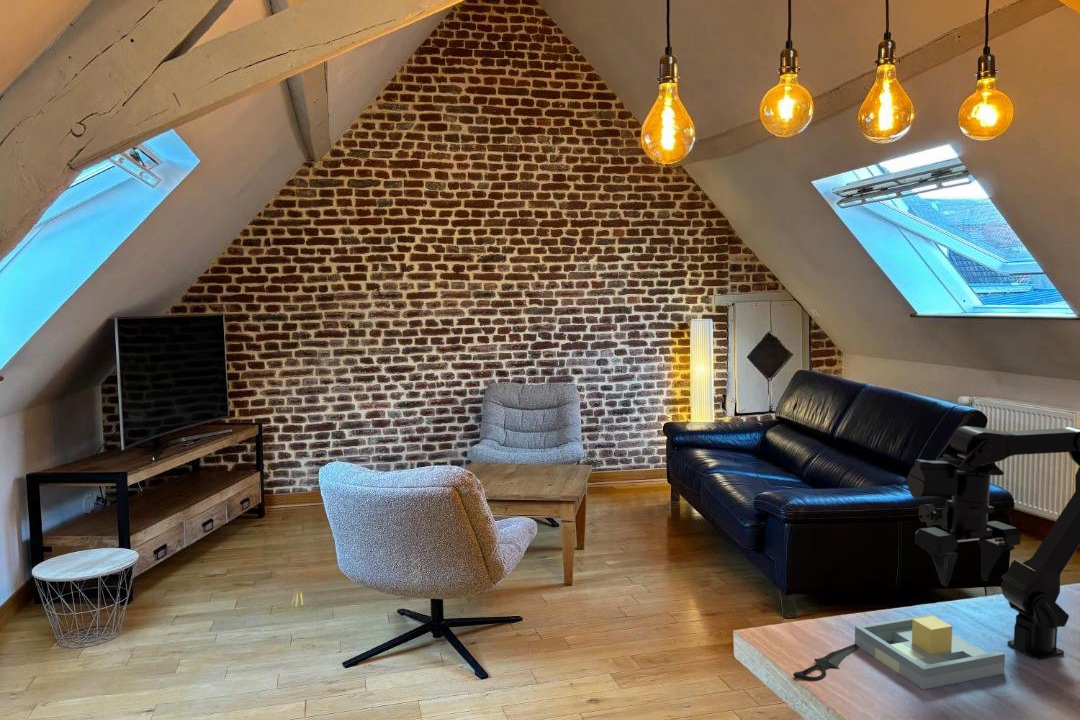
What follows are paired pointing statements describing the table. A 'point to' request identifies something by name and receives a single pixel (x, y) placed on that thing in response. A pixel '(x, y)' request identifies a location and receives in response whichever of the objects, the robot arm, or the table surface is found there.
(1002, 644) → the table surface
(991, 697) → the table surface
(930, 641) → the block
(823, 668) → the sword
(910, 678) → the tray
